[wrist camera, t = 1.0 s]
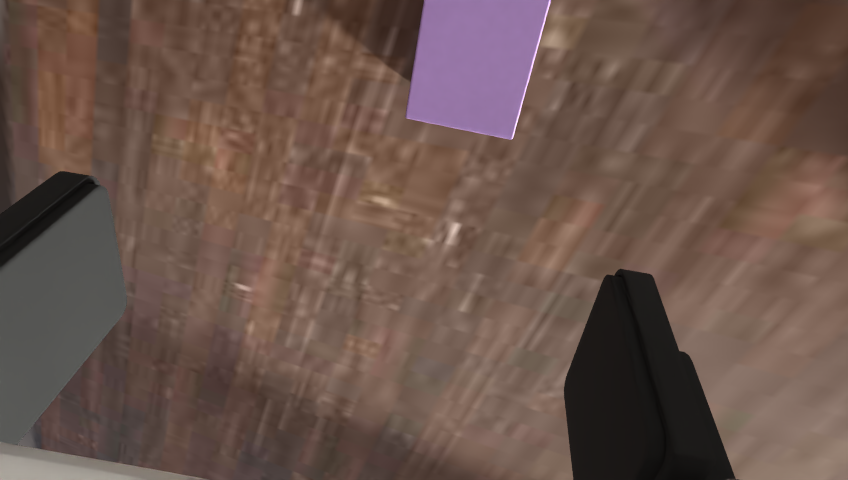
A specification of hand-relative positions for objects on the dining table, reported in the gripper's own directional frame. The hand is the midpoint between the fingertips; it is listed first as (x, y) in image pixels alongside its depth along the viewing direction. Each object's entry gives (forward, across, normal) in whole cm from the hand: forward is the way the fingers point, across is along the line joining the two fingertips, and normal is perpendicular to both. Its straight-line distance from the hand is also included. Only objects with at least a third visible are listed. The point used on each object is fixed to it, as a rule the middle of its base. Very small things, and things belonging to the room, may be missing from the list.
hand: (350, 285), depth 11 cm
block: (+21, -2, 0) cm, 21 cm away
